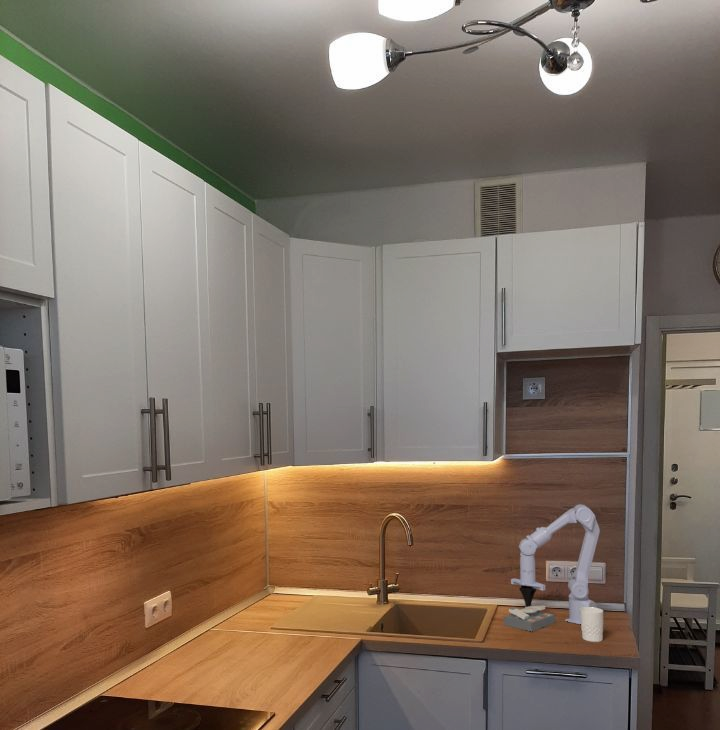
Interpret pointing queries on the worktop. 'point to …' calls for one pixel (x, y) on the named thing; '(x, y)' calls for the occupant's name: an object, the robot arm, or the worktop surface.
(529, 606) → the right rocker
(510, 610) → the left rocker
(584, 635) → the white cup
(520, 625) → the switch box
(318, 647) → the worktop surface
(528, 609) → the middle rocker
